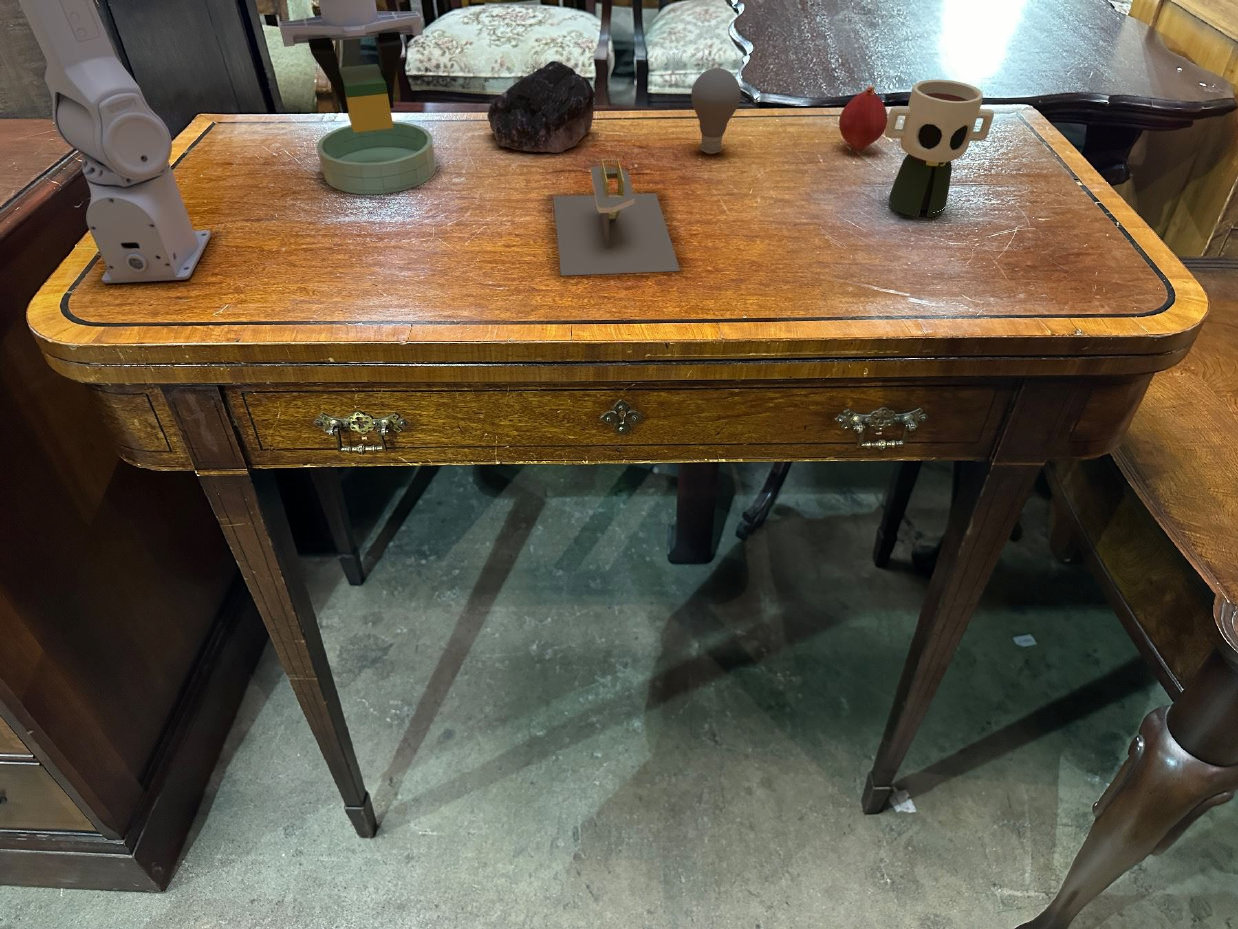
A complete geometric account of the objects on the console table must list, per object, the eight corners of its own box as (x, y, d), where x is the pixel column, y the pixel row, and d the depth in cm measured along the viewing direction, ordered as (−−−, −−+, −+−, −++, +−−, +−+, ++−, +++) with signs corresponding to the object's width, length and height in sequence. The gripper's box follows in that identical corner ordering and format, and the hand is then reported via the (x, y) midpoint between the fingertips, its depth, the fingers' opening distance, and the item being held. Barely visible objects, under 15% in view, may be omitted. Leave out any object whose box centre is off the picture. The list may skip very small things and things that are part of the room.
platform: (655, 193, 95) (658, 136, 91) (680, 270, 82) (684, 209, 78) (553, 196, 94) (550, 139, 90) (561, 275, 81) (558, 213, 77)
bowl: (434, 192, 94) (429, 162, 92) (316, 196, 93) (309, 166, 91) (438, 147, 104) (434, 119, 102) (331, 150, 103) (325, 122, 100)
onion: (825, 144, 107) (837, 79, 101) (864, 139, 108) (878, 75, 103) (847, 161, 103) (861, 95, 97) (888, 156, 104) (904, 91, 99)
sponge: (393, 128, 92) (385, 81, 89) (353, 133, 91) (344, 86, 88) (385, 108, 97) (377, 63, 93) (347, 112, 96) (337, 67, 92)
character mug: (872, 221, 91) (902, 100, 82) (861, 193, 96) (888, 76, 87) (971, 225, 90) (1012, 104, 82) (955, 197, 96) (991, 80, 87)
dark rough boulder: (474, 134, 109) (462, 57, 102) (561, 106, 114) (556, 31, 106) (523, 177, 102) (514, 98, 94) (613, 146, 107) (612, 68, 99)
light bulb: (678, 147, 105) (684, 64, 98) (719, 140, 107) (727, 58, 100) (701, 165, 101) (708, 80, 94) (743, 157, 103) (753, 73, 96)
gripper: (269, -15, 79) (303, 127, 88) (419, -25, 83) (437, 112, 92) (265, -31, 84) (298, 105, 93) (407, -40, 88) (426, 92, 97)
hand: (367, 107), depth 93 cm, fingers closed on sponge, 4 cm apart
